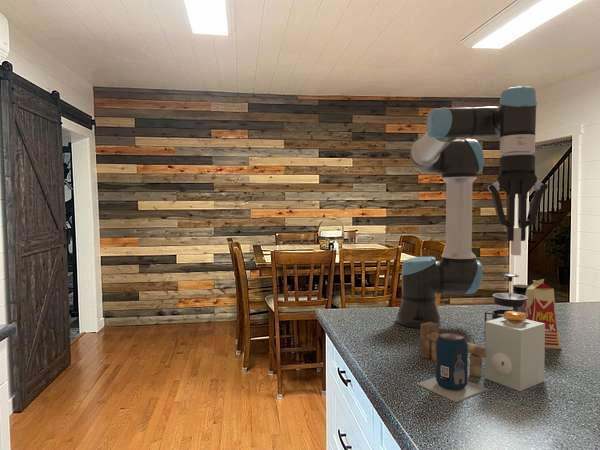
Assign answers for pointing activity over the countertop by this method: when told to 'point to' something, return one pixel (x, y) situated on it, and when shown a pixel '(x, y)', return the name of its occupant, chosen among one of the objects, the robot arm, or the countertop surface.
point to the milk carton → (543, 311)
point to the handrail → (429, 348)
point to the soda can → (451, 361)
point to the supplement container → (519, 290)
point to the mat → (455, 396)
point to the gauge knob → (515, 318)
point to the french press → (507, 300)
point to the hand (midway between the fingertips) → (515, 254)
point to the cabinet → (514, 353)
